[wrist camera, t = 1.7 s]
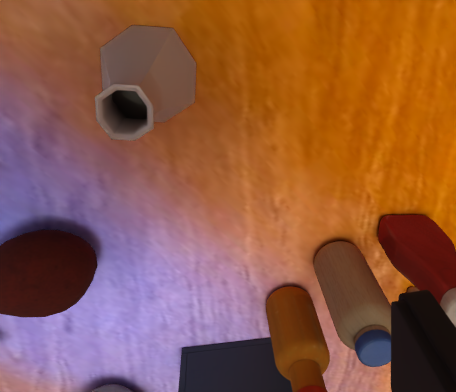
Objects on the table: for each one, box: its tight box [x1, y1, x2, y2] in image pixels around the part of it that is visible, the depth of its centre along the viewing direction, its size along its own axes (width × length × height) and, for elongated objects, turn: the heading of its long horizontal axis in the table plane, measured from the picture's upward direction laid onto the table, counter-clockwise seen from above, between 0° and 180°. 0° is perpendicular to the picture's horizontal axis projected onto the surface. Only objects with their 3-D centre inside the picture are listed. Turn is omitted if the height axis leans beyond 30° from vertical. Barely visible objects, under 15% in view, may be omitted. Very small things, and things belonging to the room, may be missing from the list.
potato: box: [0, 230, 97, 317], centre depth 36 cm, size 7×10×6 cm
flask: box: [95, 25, 196, 141], centre depth 27 cm, size 7×7×10 cm
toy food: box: [266, 215, 456, 392], centre depth 35 cm, size 27×13×12 cm, turn 88°
